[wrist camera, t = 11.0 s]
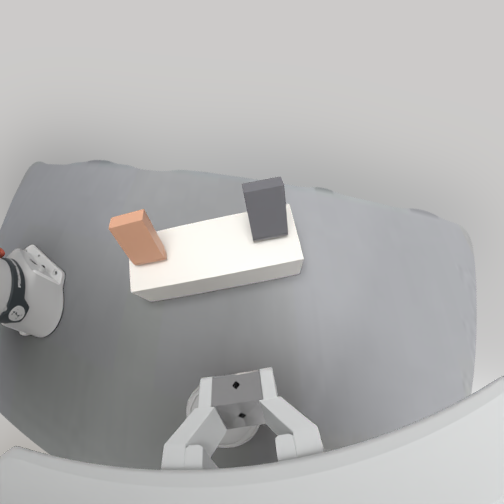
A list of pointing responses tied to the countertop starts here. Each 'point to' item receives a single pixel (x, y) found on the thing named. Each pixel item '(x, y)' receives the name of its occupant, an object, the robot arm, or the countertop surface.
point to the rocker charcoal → (266, 208)
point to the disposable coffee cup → (232, 435)
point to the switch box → (216, 258)
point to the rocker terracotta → (137, 237)
